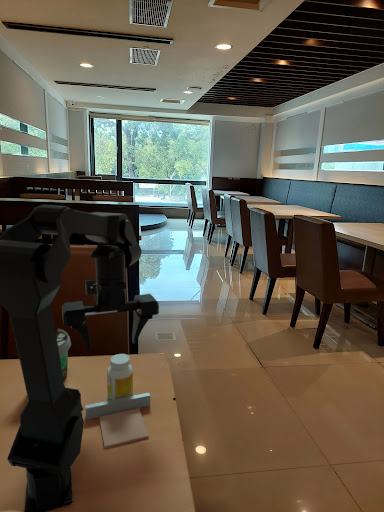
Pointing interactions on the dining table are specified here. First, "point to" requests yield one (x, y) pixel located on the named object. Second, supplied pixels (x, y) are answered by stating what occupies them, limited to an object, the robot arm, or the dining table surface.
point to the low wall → (117, 405)
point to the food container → (63, 350)
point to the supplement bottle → (119, 377)
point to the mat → (122, 427)
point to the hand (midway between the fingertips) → (112, 346)
